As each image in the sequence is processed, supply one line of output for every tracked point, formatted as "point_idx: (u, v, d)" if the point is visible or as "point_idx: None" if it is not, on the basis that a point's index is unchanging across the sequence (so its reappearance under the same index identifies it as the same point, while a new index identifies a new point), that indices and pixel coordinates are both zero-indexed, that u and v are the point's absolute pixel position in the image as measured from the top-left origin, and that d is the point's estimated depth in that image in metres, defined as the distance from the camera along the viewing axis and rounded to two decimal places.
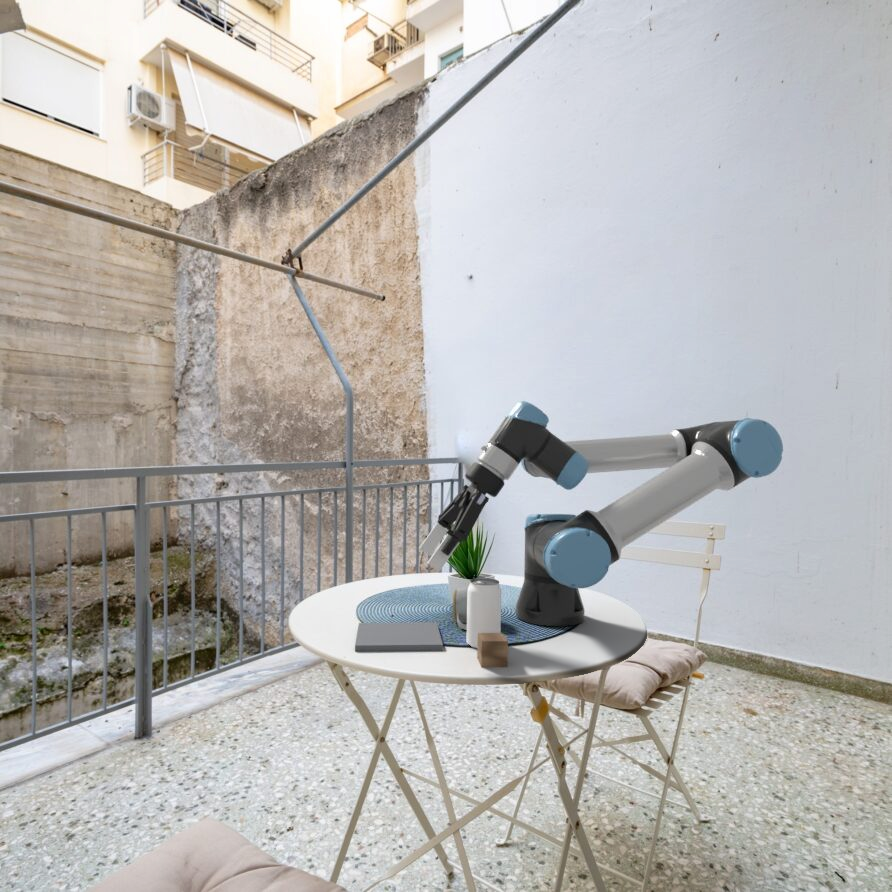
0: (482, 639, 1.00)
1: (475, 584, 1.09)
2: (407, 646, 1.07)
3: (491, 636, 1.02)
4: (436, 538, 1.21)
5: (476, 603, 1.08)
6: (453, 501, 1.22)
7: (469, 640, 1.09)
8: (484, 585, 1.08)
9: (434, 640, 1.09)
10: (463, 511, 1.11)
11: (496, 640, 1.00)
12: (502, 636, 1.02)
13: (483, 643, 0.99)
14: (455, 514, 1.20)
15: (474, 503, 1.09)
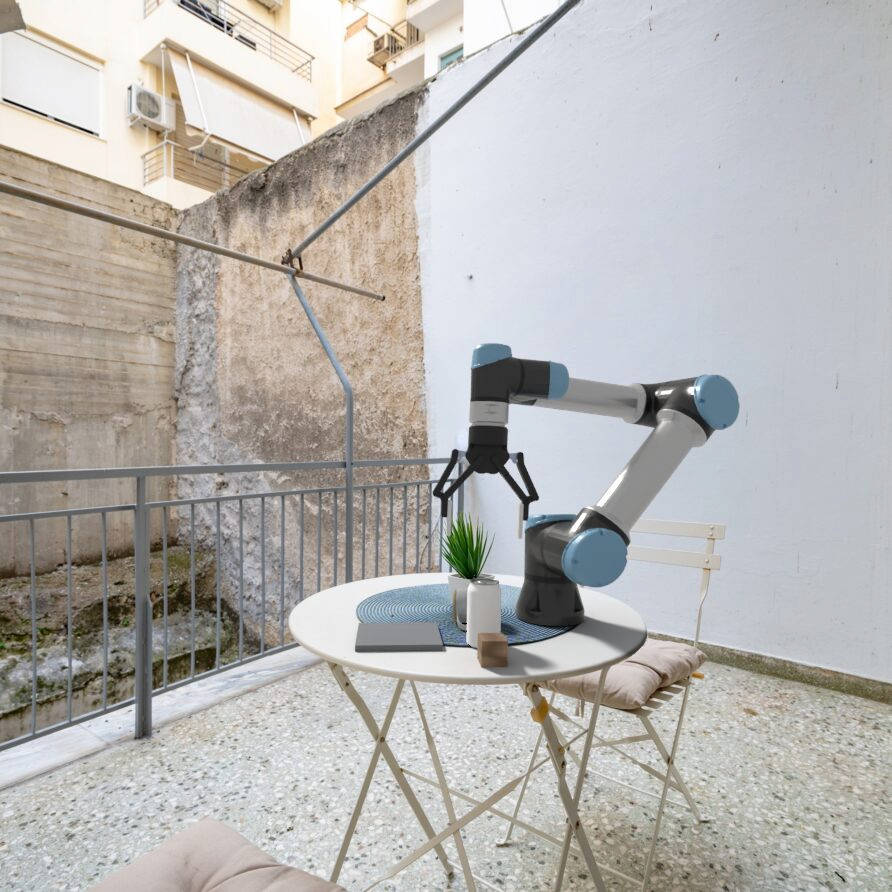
0: (482, 639, 1.00)
1: (475, 584, 1.09)
2: (407, 646, 1.07)
3: (491, 636, 1.02)
4: None
5: (476, 603, 1.08)
6: (451, 471, 1.10)
7: (469, 640, 1.09)
8: (484, 585, 1.08)
9: (434, 640, 1.09)
10: (511, 476, 1.11)
11: (496, 640, 1.00)
12: (502, 636, 1.02)
13: (483, 643, 0.99)
14: None
15: None
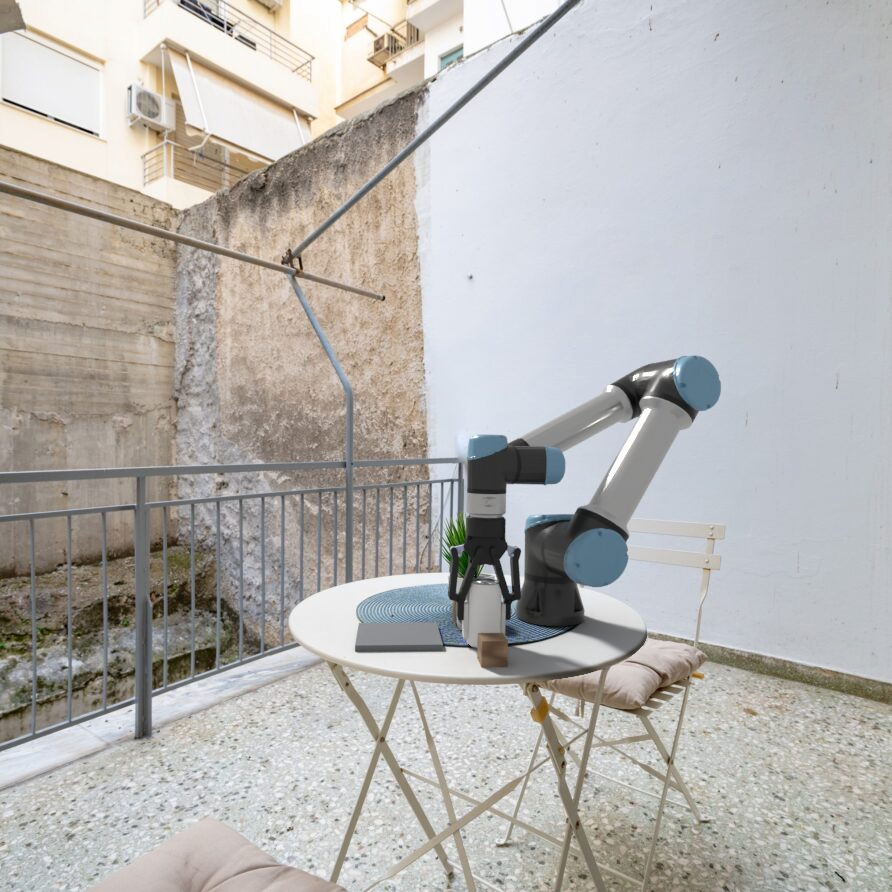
0: (482, 639, 1.00)
1: (475, 584, 1.09)
2: (407, 646, 1.07)
3: (491, 636, 1.02)
4: None
5: (476, 603, 1.08)
6: None
7: (469, 640, 1.09)
8: (484, 585, 1.08)
9: (434, 640, 1.09)
10: (502, 572, 1.11)
11: (496, 640, 1.00)
12: (502, 636, 1.02)
13: (483, 643, 0.99)
14: None
15: None
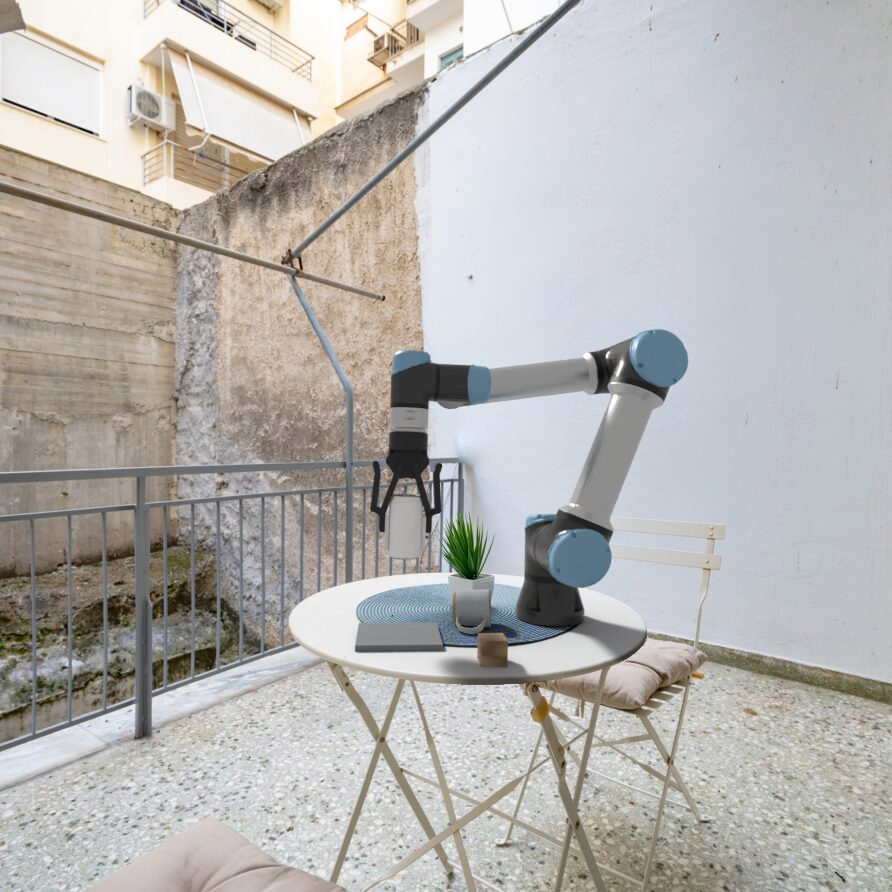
0: (482, 639, 1.00)
1: (396, 496, 1.11)
2: (407, 646, 1.07)
3: (491, 636, 1.02)
4: None
5: (396, 514, 1.11)
6: (379, 483, 1.12)
7: (389, 551, 1.12)
8: (404, 497, 1.11)
9: (434, 640, 1.09)
10: None
11: (496, 640, 1.00)
12: (502, 636, 1.02)
13: (483, 643, 0.99)
14: None
15: (439, 476, 1.14)
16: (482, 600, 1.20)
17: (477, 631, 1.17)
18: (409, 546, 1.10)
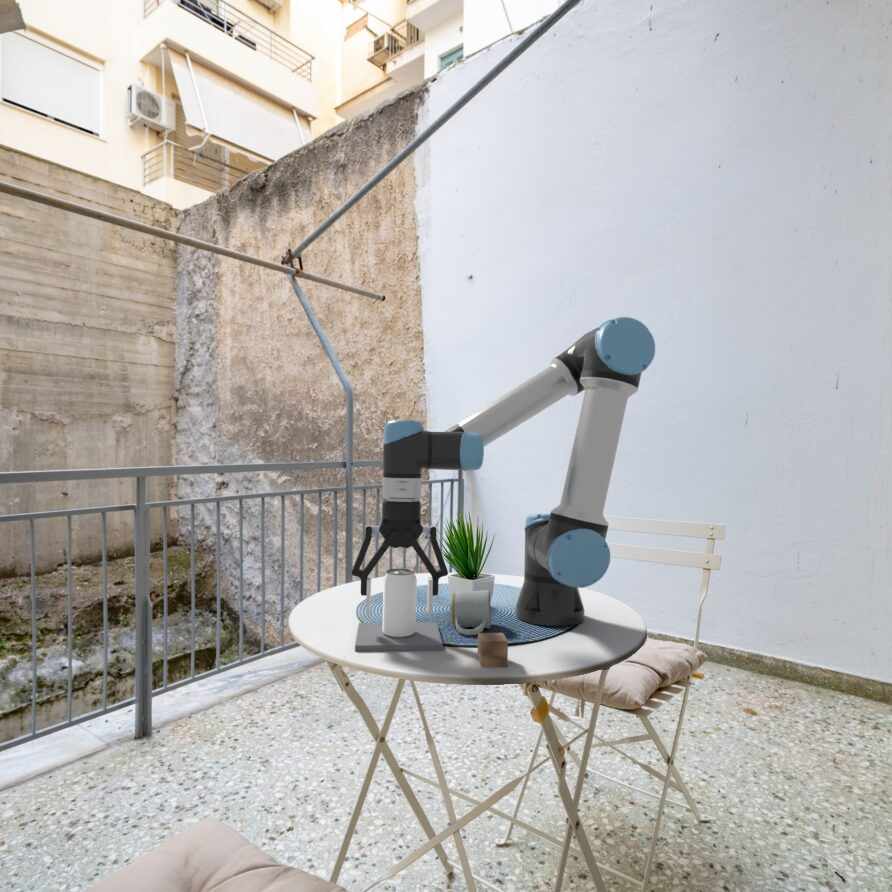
0: (482, 639, 1.00)
1: (390, 574, 1.11)
2: (407, 646, 1.07)
3: (491, 636, 1.02)
4: None
5: (390, 593, 1.11)
6: None
7: (384, 628, 1.12)
8: (398, 575, 1.11)
9: (434, 640, 1.09)
10: (423, 551, 1.13)
11: (496, 640, 1.00)
12: (502, 636, 1.02)
13: (483, 643, 0.99)
14: None
15: (436, 539, 1.14)
16: (481, 601, 1.19)
17: (476, 632, 1.16)
18: (404, 625, 1.10)
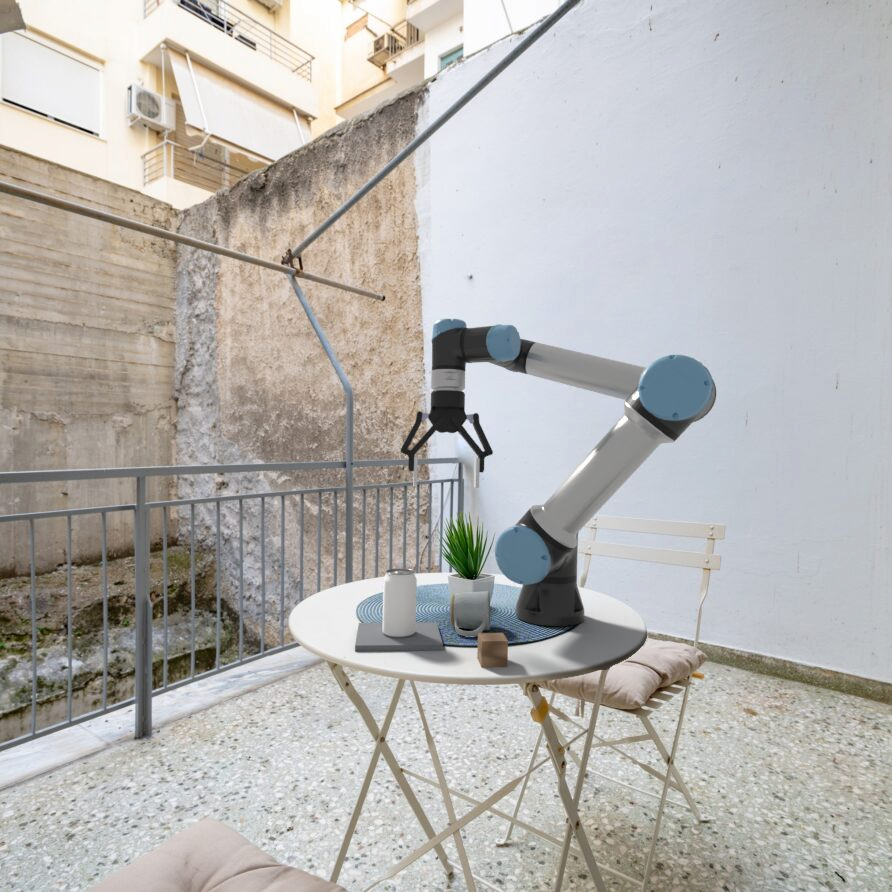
0: (482, 639, 1.00)
1: (390, 574, 1.12)
2: (407, 646, 1.07)
3: (491, 636, 1.02)
4: None
5: (390, 593, 1.11)
6: (416, 431, 1.27)
7: (384, 629, 1.12)
8: (398, 575, 1.11)
9: (434, 640, 1.09)
10: (468, 434, 1.28)
11: (496, 640, 1.00)
12: (502, 636, 1.02)
13: (483, 643, 0.99)
14: None
15: (479, 424, 1.29)
16: (481, 602, 1.18)
17: (476, 634, 1.15)
18: (404, 625, 1.10)
